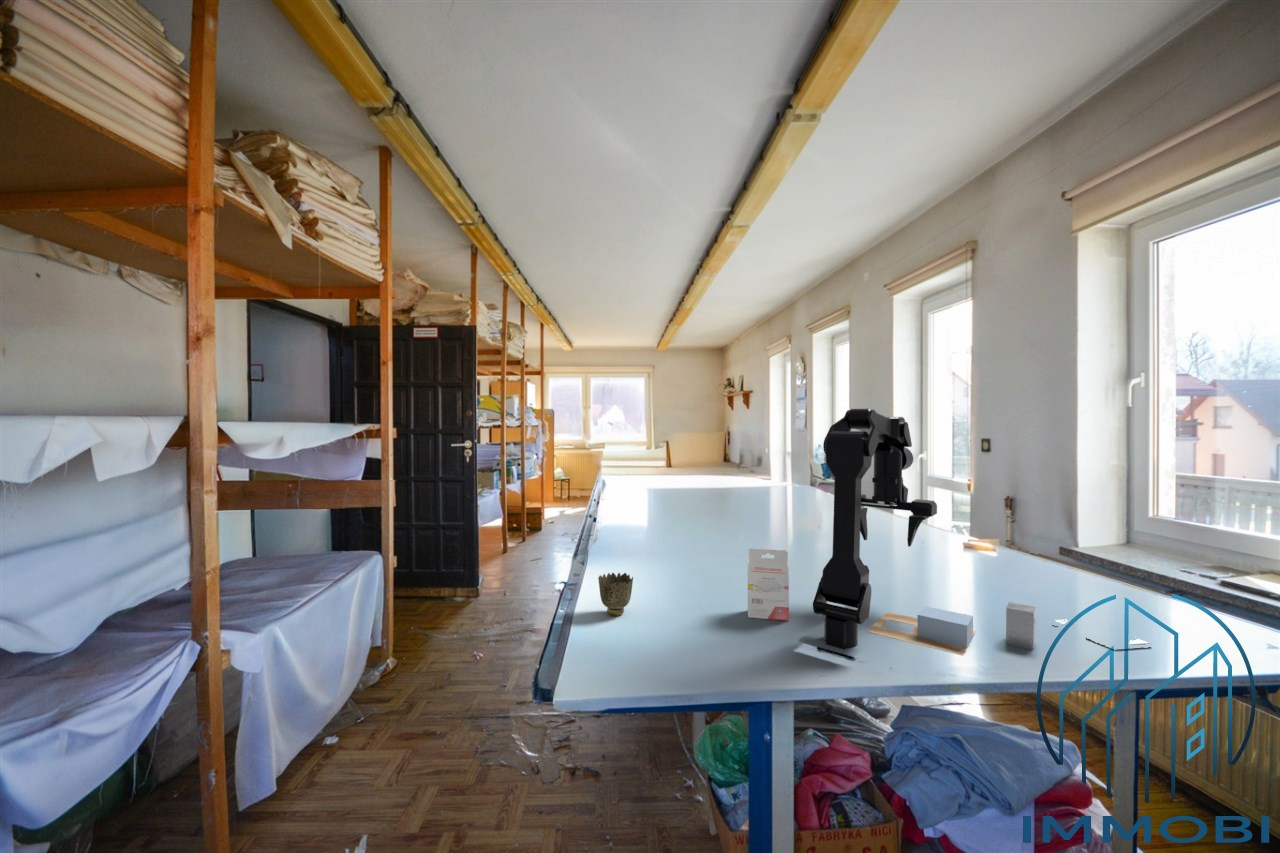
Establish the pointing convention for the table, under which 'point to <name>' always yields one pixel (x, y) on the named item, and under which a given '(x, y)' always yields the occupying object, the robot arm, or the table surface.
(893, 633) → the socket board
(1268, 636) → the table surface
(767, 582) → the ink cartridge box
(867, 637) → the table surface
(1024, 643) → the grey rectangular block
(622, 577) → the cup
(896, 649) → the table surface
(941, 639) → the block
